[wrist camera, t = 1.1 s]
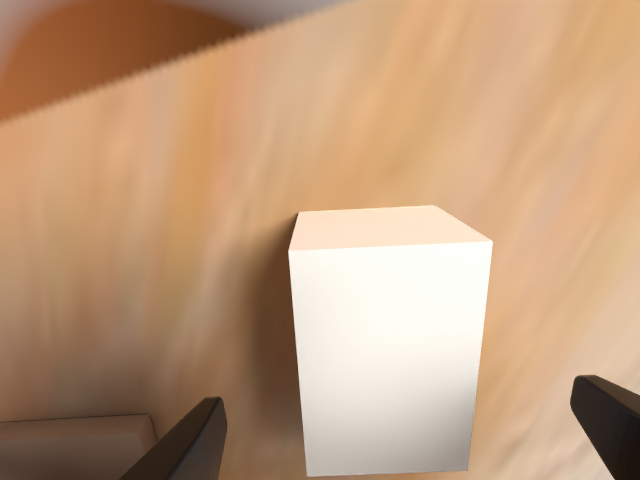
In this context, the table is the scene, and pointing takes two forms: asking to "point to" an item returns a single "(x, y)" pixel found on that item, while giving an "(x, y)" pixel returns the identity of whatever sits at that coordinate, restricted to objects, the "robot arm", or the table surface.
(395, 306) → the white rectangular block
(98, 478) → the rack
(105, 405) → the table surface
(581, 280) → the table surface
